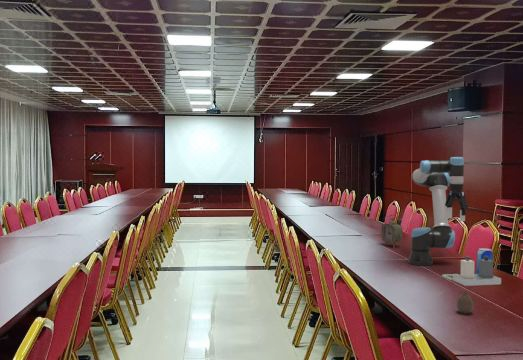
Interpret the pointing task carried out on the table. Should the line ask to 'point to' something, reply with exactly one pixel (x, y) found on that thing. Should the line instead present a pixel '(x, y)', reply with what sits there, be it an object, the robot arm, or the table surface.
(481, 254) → the beer can
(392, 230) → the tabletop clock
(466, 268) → the plug
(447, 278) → the tray
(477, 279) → the metal socket frame
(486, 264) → the twin plug
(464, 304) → the grey rounded lump
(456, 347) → the table surface
